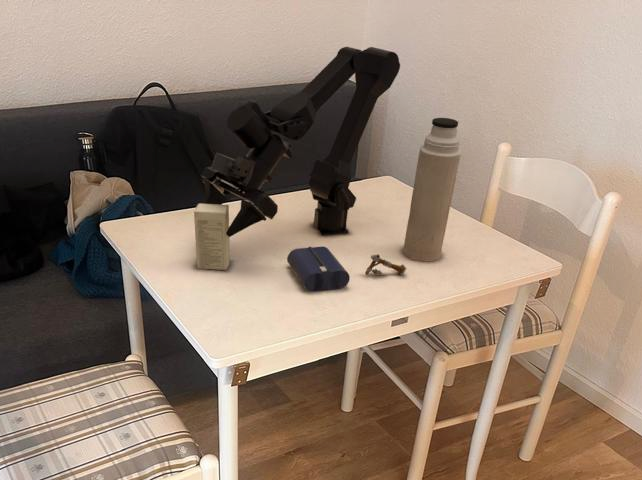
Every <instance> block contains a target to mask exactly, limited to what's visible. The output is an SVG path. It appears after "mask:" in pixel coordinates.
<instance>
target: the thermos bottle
mask: <svg viewBox="0 0 642 480" xmlns="http://www.w3.org/2000/svg"><path fill="white" fill-rule="evenodd" d="M431 124H432V126H431V130H430V133H428V134H426V135H425V138H424V140H423V145H421V146H420V147H419V152H418V157H417V163H416V170H415V176H414V181H413V182H414V183H413V188H412V194H411V199H410V207H409V215H408V220H407V224H406V231H405V237H404V243H403V249H402V252H403V255H404V256H405V257H407V258H409V259H412V260H414V261H417V262H435V261H437V260H439V259H440V258H441V256H442V255H441V254H442V250H443V245H444V239H445V236H446V230H447V225H448V219H449V215H450V210H451V204H452V200H453V196H454V195H453V194H454V190H455V185H456V181H457V175H458V170H459V165H460V160H461V156H462V151H461V149H460V148H459V147H460V145H461V144H460V141H461V140H460V138H459V137H458V136H457V133H458V127H459V121H458V120H456V119H453V118H449V117H435V118H433V119H432V120H431Z"/></svg>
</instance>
